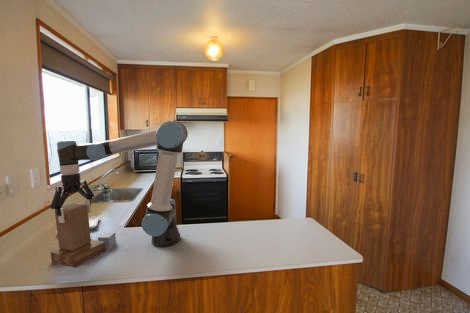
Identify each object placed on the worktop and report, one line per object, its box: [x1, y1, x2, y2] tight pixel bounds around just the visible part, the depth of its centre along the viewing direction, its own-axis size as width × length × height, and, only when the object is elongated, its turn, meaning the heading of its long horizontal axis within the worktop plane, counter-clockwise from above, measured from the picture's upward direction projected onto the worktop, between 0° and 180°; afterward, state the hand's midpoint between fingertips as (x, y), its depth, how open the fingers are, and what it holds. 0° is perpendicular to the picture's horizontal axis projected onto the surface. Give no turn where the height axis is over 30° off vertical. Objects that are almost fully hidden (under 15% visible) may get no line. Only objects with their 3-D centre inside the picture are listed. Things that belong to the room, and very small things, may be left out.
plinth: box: [50, 238, 107, 269], centre depth 123 cm, size 16×16×5 cm
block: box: [54, 203, 92, 251], centre depth 122 cm, size 10×10×20 cm
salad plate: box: [55, 215, 101, 234], centre depth 160 cm, size 21×21×3 cm
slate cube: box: [97, 231, 117, 249], centre depth 134 cm, size 6×6×6 cm
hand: (75, 217), depth 121 cm, fingers open, 13 cm apart
